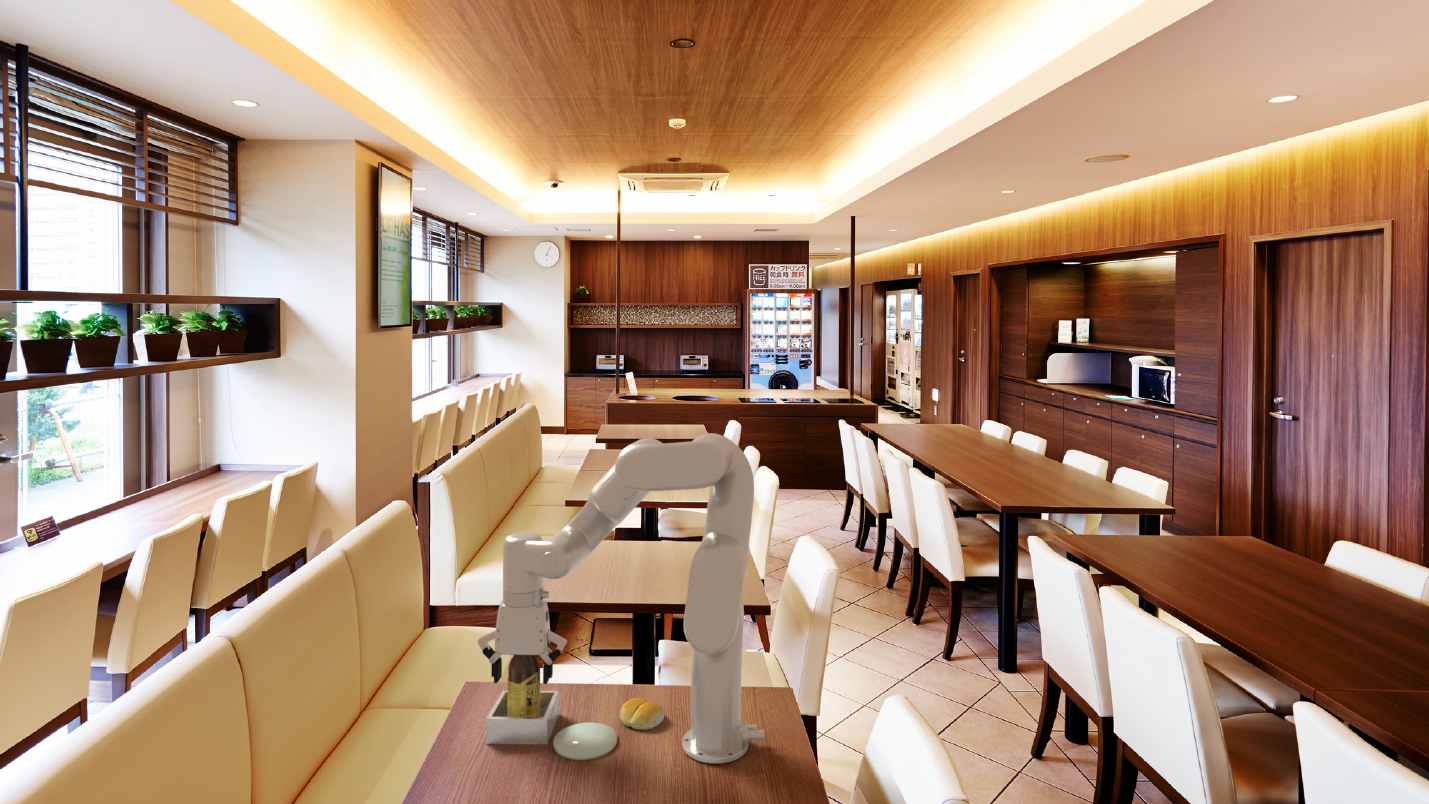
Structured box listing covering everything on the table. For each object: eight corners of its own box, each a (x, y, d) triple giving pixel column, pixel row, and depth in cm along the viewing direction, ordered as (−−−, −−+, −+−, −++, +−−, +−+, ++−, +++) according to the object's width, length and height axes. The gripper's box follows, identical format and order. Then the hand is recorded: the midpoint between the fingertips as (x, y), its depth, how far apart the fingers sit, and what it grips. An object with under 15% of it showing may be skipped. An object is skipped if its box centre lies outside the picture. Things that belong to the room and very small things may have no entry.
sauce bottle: (531, 739, 143) (530, 639, 141) (501, 735, 144) (500, 636, 143) (545, 722, 149) (545, 626, 148) (517, 718, 151) (516, 624, 149)
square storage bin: (559, 714, 153) (559, 690, 152) (547, 744, 141) (546, 719, 141) (502, 713, 152) (502, 690, 152) (486, 744, 141) (485, 718, 140)
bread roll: (637, 706, 157) (637, 688, 157) (670, 719, 152) (670, 700, 151) (610, 722, 150) (610, 703, 150) (643, 736, 145) (644, 716, 145)
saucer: (620, 726, 148) (620, 722, 148) (612, 760, 136) (612, 756, 136) (560, 726, 148) (560, 722, 148) (547, 759, 136) (547, 755, 136)
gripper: (570, 591, 148) (569, 673, 150) (484, 589, 148) (484, 671, 150) (563, 604, 141) (562, 690, 142) (472, 602, 141) (472, 688, 142)
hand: (522, 680), depth 146 cm, fingers open, 9 cm apart
